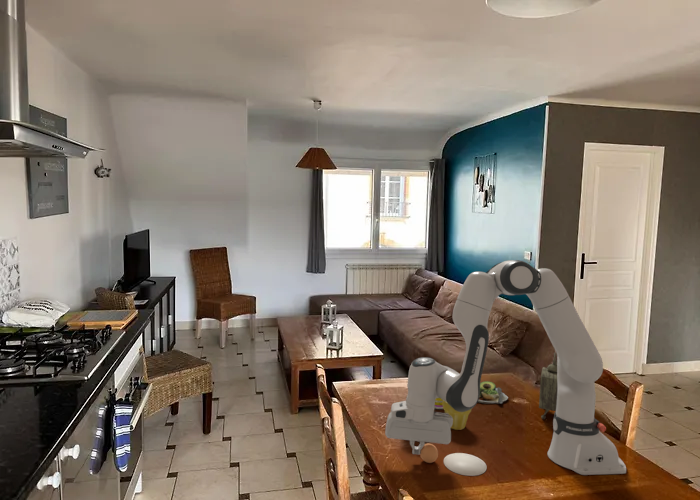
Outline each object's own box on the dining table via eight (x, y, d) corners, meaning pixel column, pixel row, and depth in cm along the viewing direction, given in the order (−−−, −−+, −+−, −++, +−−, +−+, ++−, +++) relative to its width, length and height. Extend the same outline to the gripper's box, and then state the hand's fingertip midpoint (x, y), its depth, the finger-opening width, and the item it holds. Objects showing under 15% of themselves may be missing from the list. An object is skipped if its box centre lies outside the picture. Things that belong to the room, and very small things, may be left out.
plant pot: (471, 434, 169) (472, 407, 168) (441, 430, 171) (442, 403, 170) (469, 421, 179) (471, 396, 178) (441, 418, 181) (443, 393, 180)
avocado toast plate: (519, 406, 196) (520, 395, 196) (478, 408, 193) (479, 397, 192) (496, 389, 215) (497, 379, 215) (459, 390, 212) (459, 380, 211)
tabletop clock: (540, 406, 195) (544, 346, 193) (564, 411, 192) (569, 350, 190) (537, 420, 182) (542, 356, 180) (563, 425, 179) (568, 360, 177)
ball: (424, 459, 152) (440, 452, 152) (425, 469, 147) (442, 461, 146) (416, 444, 152) (432, 437, 151) (417, 453, 147) (433, 446, 146)
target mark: (482, 455, 154) (482, 454, 154) (490, 477, 141) (490, 476, 141) (441, 452, 155) (441, 451, 155) (446, 474, 142) (446, 473, 142)
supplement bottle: (449, 407, 192) (451, 376, 190) (437, 411, 188) (439, 379, 187) (437, 401, 197) (439, 371, 196) (425, 405, 193) (427, 374, 192)
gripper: (452, 409, 151) (448, 452, 152) (387, 403, 152) (384, 445, 153) (454, 418, 144) (451, 462, 145) (387, 411, 146) (383, 454, 147)
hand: (416, 453), depth 149 cm, fingers closed
